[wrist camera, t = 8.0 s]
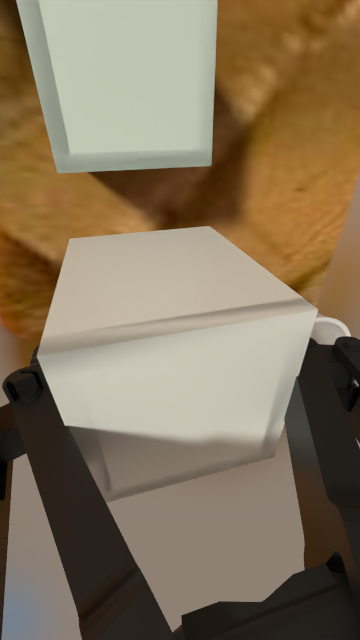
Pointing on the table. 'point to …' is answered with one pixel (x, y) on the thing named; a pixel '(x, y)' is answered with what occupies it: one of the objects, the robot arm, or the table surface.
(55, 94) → the sage cover
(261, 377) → the white cover
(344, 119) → the table surface
